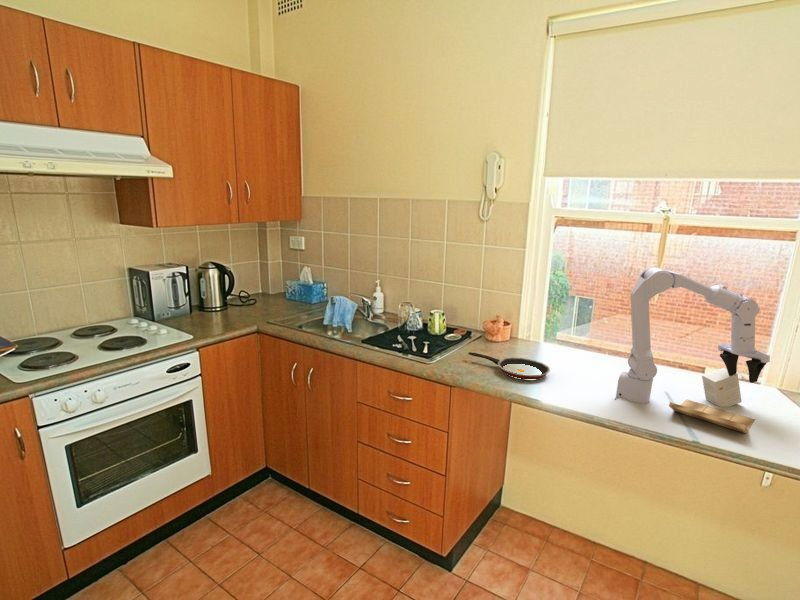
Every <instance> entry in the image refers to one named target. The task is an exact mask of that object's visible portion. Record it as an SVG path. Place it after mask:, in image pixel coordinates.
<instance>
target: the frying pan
mask: <svg viewBox="0 0 800 600" xmlns="http://www.w3.org/2000/svg"><path fill="white" fill-rule="evenodd" d="M468 355H470V356H472V357H476V358H482V359H484V360H485V359H486V360H487V361H491V362H492V363H494V364H495V365H497V366H498V367H499V368H500V370H501V371H502V372H503V373H504V372H505V373H506V374H508V375H510V376H513V377H517V378H521V379H538V380H541V379H542V378H544V377H546V376H547V375H548V374H549V373H550V372H551V369H550V367H549V366H548V365H547V364H545V363H543V362H540V361H537V360H534V359H532V358H531V359H530V358H525V357H508V358H503V359H499V358H495V357H491V356H488V355H486V354H481V353H476V352H471V351H469V352H468ZM507 364H525V365H530V366H533V367H536V368H537V369H539V370H540V371H541V372H542V374H541V375H523V374H517V373H513V372H510V371H507V370H505V369H503V366H505V365H507ZM517 370H518V371H520V372H524V370H522V369H517ZM505 373H504V374H505ZM506 374H505V375H506ZM508 375H507V376H508ZM540 378H541V379H540Z"/></svg>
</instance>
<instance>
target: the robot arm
mask: <svg viewBox="0 0 800 600" xmlns="http://www.w3.org/2000/svg"><path fill="white" fill-rule="evenodd" d="M670 288H672V289H677V288H683V289H686V290H688V291H691V292H693V293H696V294H699V295H700V296H703V297H704V299H705V302H706V303H709V304H711V305H713V306H715V307H718V308H719V309H723V310H725V311H727V312H730V313H731V315H730V316H731V317H730V318H731V319H730V324H731V325H730V326H731V327H730V334H731V335H730V344H726V343H721V344H718V347H717V349H718V350H717V351H719V352H722V353H719V358H721V360H722V361H723V363H724V365H725V369H727V371H728V374H729V376H732V375H734V374H737V370H738V361H739V357H744V358H748V360H746V361H745V364H746V367H747V370H748V371H747V372H748V381H749V383H751V384H754V383H756V382H758V380H759V377H760V374H761V372H762V370H763V369H764V367H765V366H767V363H770V362H771V361H770V360H771V356H770V354H766V353H764V352H761V351H759V350H757V349H756V346H755V345H756V337H755V336H756V316H757V315H758V314H759V313H760V311H761V307H759V303H757V301H756V300H754V299H752V298H749V297H746V296H744V294H743V293H742V292H735V291H732V290H730V289H728V286H726V285H723V284H721V285H717V284H716V285H712V286H709V285H707V284H704V283H702V282H701V281H698V280H695V279H693V278H691V277H689V276H687V275H684V274H682V273H678V272H676V271H671V270H669V269H665V268H664V269H662V268H661V267H658V266H649V267H648V268H646V269H645V270H644V271H642V272H641V273H640V274H639V276H638V279H637V281H636V283H635V285H634V286H633V288H632V290H631V291H630V296H629V297H630V315H631V316H630V317H631V336H632V339H631V340H632V347H631V348H630V356H629V357H628V360H627V364H628V366H629V371H628V372H627V371H622V372H621V373H620V374H619V377H618V380H617V386H616V392H615V393H616V394H615V397H614V400H619V398H623V399H625V400H628V401H631V402H634V403H637V404H648V403H649V402H650V400H651V393H652V386H653V381H654V378H655V377H656V375H657V373H658V367H657V365H656V364H655V361H654V355H653V352H652V349H651V345H652V344H651V326H650V325H651V324H650V320H651V319H650V300H651V299H653V298H654V297H655V296H657V295H659V294H661V293H664V292H666V291H667V290H669V289H670Z"/></svg>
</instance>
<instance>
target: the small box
mask: <svg viewBox="0 0 800 600" xmlns="http://www.w3.org/2000/svg"><path fill="white" fill-rule="evenodd" d="M701 378H702V385H703V390H704V396H705V397H704V398H705V400H706V401H708V402H710V403H712V404H713V405H715V406H717V407H732V406H735V405H737V404H740V403H742V394H741V388H740V382H739V374H738V373H736V374H734V375H732V376H729V374H728V371H727V368H726V367H722V368H719V369H716V370H714V371H711V372H709V373H706V374H702V375H701Z"/></svg>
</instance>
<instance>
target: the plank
mask: <svg viewBox="0 0 800 600" xmlns="http://www.w3.org/2000/svg"><path fill="white" fill-rule="evenodd" d="M668 407H669V408H671V410H672V411H674V412H677V413H680V414H683V415H686V416H690V417H692V418H696V419H699V420H702V421H705V422H708V423H711V424H714V425H718V426H722V427H724V428H728V429H730V430H734V431H737V432H740V433H743V434H747V433H748V432H749V430H747V428H746V426H745V425H743V424H740V423H737V422H734V421H730V420H727V419H724V418H720V417H717V416H714V415H711V414H707V413H704V412H701V411H697V410H694V409H691V408H688V407H684V406H681V404H677V403H674V402H670V401H669V405H668Z"/></svg>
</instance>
